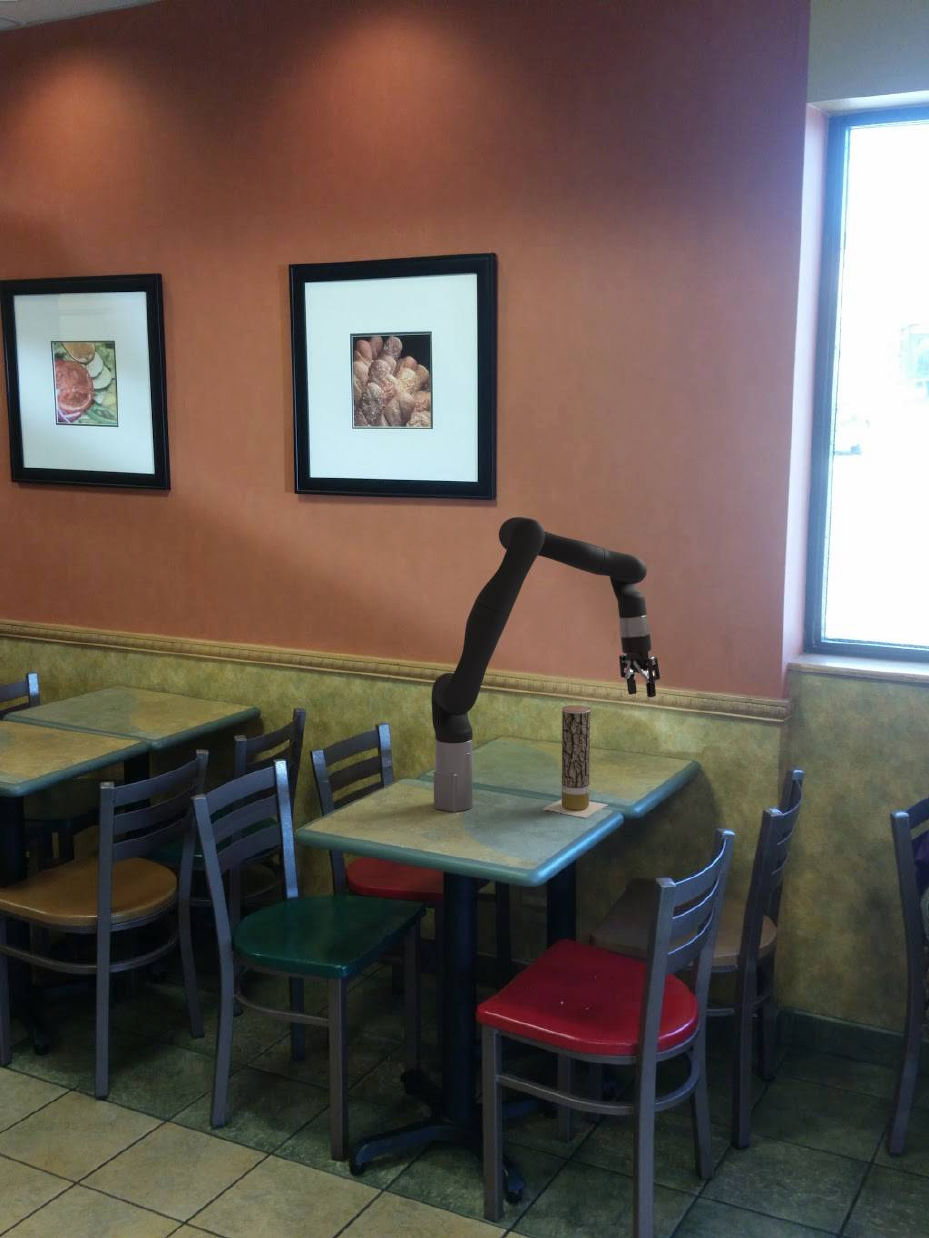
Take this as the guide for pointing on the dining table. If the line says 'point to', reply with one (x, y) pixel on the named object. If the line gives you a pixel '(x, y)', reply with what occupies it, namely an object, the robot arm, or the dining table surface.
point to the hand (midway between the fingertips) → (642, 695)
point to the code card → (583, 813)
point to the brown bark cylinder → (575, 757)
